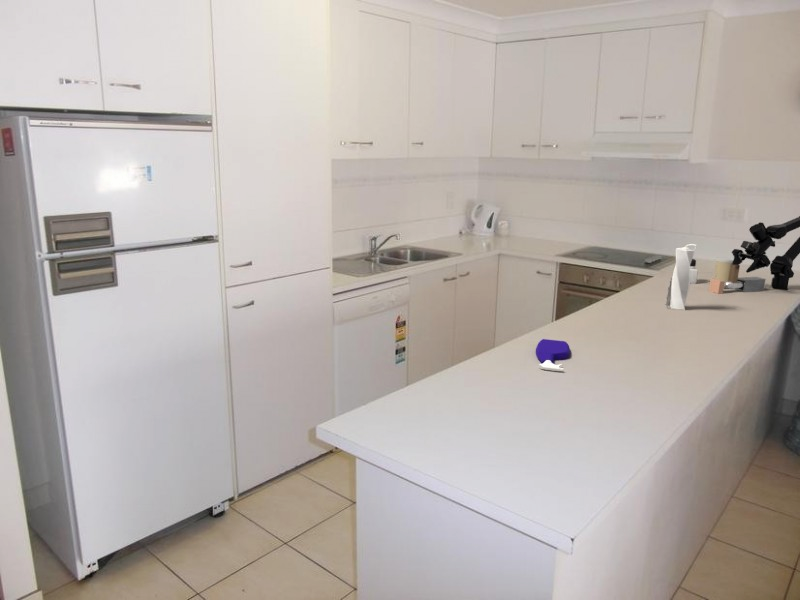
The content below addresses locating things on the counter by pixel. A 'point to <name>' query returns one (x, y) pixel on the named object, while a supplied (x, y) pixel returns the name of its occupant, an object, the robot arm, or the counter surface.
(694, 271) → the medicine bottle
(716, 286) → the socket block
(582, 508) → the counter surface
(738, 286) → the brown and silver piece
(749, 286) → the steel block
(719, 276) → the coffee cup
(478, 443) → the counter surface
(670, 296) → the skyscraper
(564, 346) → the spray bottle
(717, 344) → the counter surface
